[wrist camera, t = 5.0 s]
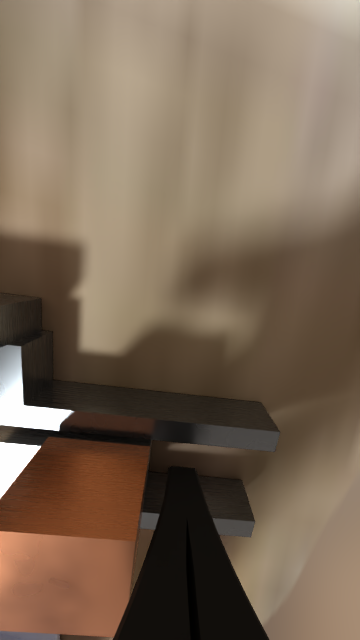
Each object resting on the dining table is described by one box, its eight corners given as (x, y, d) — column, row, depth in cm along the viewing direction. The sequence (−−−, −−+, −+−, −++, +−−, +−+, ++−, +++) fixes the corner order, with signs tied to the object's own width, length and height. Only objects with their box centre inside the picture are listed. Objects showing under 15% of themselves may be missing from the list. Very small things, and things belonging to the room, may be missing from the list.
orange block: (147, 474, 11) (124, 637, 6) (-62, 455, 11) (-270, 615, 6) (155, 410, 10) (135, 541, 5) (-73, 387, 10) (-330, 505, 5)
